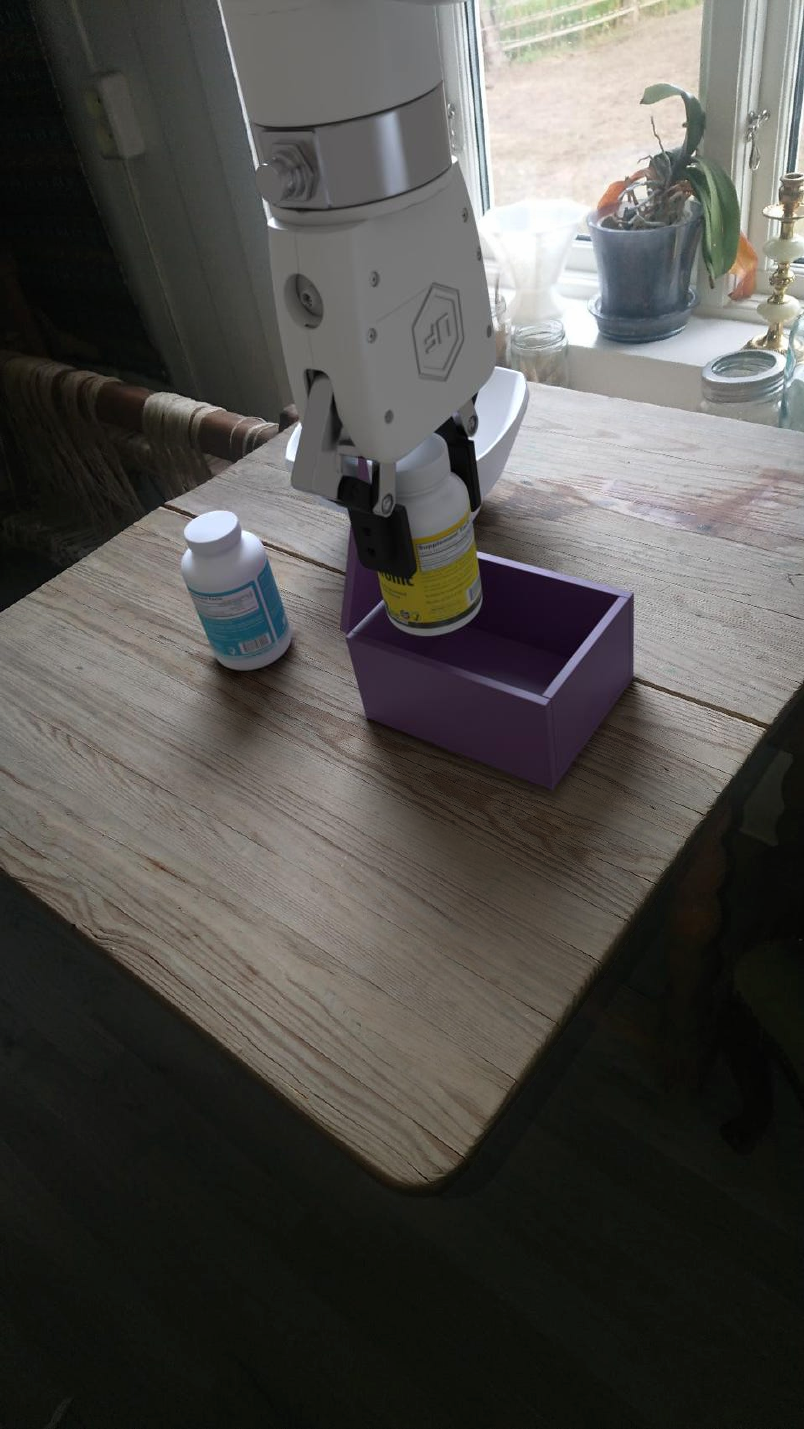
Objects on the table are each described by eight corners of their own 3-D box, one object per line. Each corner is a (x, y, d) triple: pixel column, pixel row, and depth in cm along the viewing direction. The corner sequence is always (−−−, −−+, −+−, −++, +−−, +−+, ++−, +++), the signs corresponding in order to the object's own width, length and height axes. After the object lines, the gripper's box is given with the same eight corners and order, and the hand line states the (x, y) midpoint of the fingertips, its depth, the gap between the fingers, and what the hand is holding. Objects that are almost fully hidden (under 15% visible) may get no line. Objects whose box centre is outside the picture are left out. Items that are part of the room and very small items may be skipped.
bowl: (368, 455, 112) (348, 359, 104) (556, 466, 104) (550, 362, 96) (285, 570, 99) (254, 469, 91) (494, 592, 90) (481, 483, 82)
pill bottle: (252, 613, 94) (210, 493, 85) (309, 634, 90) (272, 510, 81) (199, 660, 90) (149, 539, 81) (256, 684, 87) (212, 560, 77)
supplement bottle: (371, 601, 55) (335, 445, 49) (456, 567, 56) (433, 410, 50) (410, 653, 51) (377, 492, 45) (501, 615, 53) (482, 452, 46)
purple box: (633, 677, 80) (634, 592, 74) (552, 790, 72) (545, 706, 66) (453, 621, 88) (441, 541, 82) (365, 717, 81) (344, 637, 75)
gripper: (293, 240, 32) (388, 656, 44) (543, 83, 41) (564, 465, 53) (136, 229, 36) (265, 616, 48) (398, 88, 45) (449, 444, 57)
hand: (422, 533), depth 51 cm, fingers closed on supplement bottle, 5 cm apart
